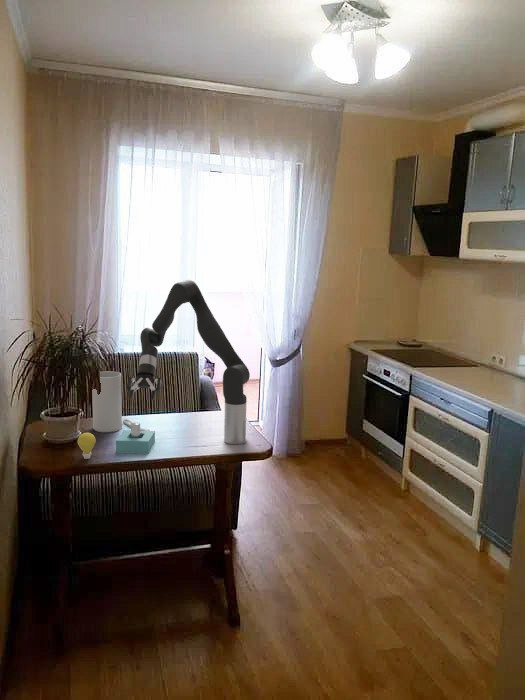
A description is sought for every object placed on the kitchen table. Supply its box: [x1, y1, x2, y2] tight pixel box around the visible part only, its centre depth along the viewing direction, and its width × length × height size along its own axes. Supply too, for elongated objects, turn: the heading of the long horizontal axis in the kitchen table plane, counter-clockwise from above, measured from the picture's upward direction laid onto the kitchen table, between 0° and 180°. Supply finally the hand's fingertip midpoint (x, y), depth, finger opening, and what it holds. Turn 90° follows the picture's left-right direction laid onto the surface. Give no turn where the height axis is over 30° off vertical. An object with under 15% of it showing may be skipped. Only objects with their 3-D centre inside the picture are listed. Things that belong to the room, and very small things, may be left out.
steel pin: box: [130, 422, 141, 438], centre depth 230 cm, size 4×4×10 cm
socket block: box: [115, 429, 156, 454], centre depth 230 cm, size 13×13×5 cm
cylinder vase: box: [91, 370, 123, 433], centre depth 251 cm, size 12×12×25 cm
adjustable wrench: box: [122, 419, 151, 431], centre depth 255 cm, size 25×6×2 cm, turn 31°
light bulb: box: [77, 432, 97, 460], centre depth 217 cm, size 7×7×10 cm
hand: (141, 399), depth 239 cm, fingers open, 8 cm apart
